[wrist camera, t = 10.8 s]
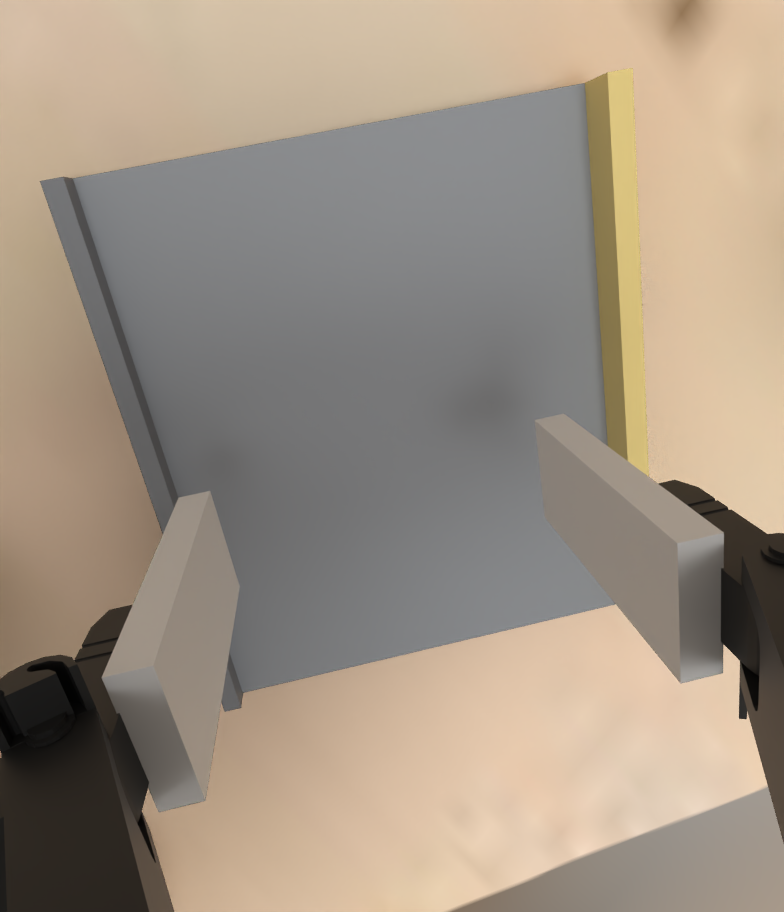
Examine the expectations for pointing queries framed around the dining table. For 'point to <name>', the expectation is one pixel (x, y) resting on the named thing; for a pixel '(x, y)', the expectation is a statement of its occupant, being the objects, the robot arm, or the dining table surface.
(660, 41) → the dining table surface
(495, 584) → the yellow-edged grey panel
